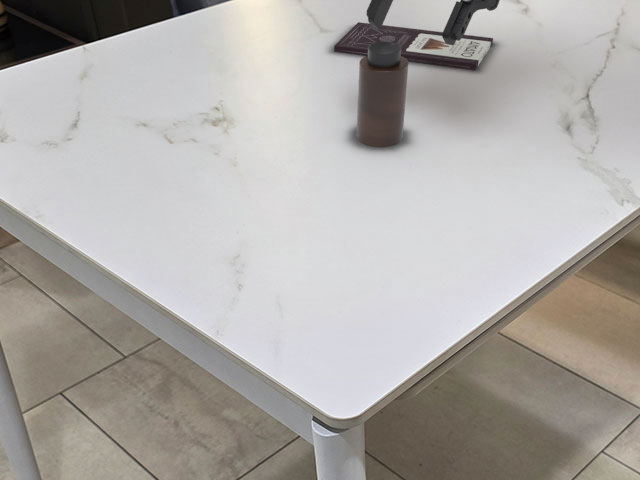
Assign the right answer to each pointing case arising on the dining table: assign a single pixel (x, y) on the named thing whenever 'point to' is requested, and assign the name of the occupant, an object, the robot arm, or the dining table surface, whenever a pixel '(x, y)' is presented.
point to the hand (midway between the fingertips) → (409, 33)
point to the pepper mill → (382, 95)
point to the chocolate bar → (418, 45)
